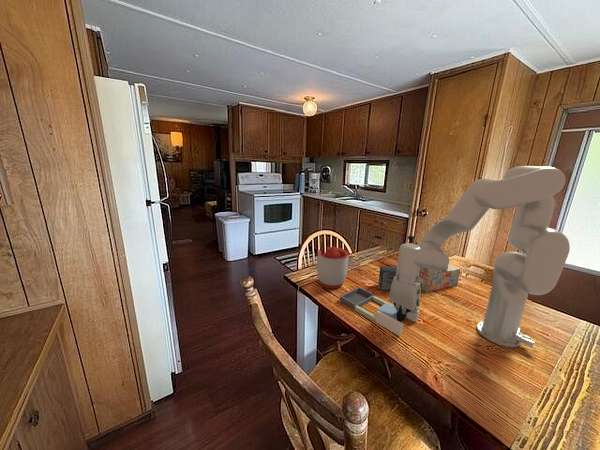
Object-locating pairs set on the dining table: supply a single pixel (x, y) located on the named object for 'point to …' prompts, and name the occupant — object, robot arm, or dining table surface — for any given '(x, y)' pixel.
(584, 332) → the dining table surface
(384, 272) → the small box
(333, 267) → the citrus juicer
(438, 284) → the stack of blocks
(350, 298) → the two-pronged grey tray
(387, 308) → the block
